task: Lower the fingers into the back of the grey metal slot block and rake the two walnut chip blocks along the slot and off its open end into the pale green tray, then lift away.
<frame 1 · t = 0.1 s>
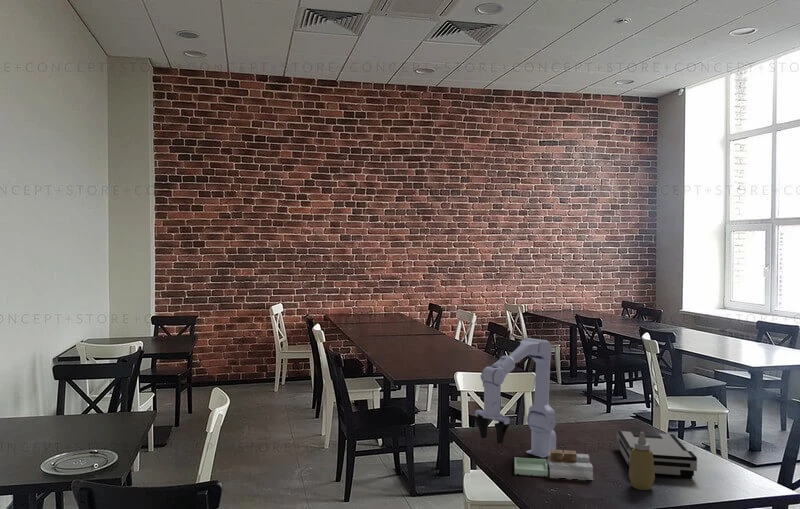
hand: (491, 440, 219), 10 cm above the table, tool pointing down, fingers open, 7 cm apart
game console: (653, 464, 227), on the table
slot block: (569, 472, 217), on the table
squeeze bottle: (641, 488, 203), on the table
front chip: (556, 462, 217), point 3 cm above the table, touching slot block
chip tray: (530, 469, 219), on the table
rear chip: (569, 463, 217), point 3 cm above the table, touching slot block
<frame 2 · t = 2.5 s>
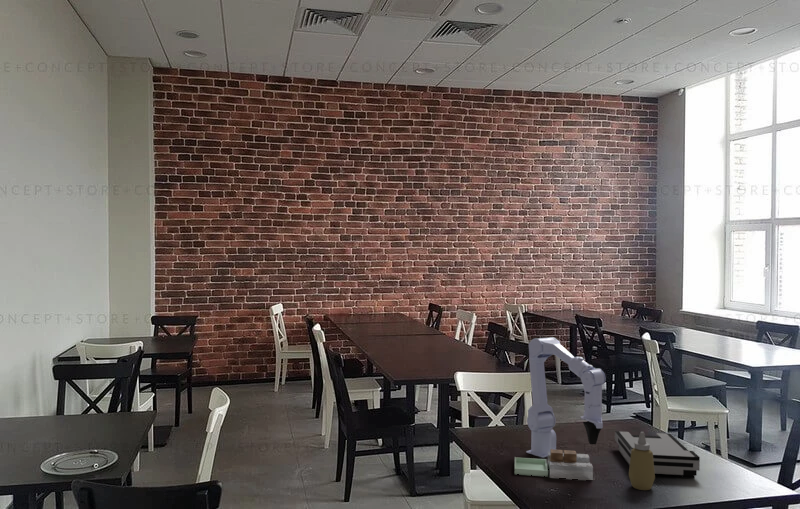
hand: (592, 443, 215), 10 cm above the table, tool pointing down, fingers closed
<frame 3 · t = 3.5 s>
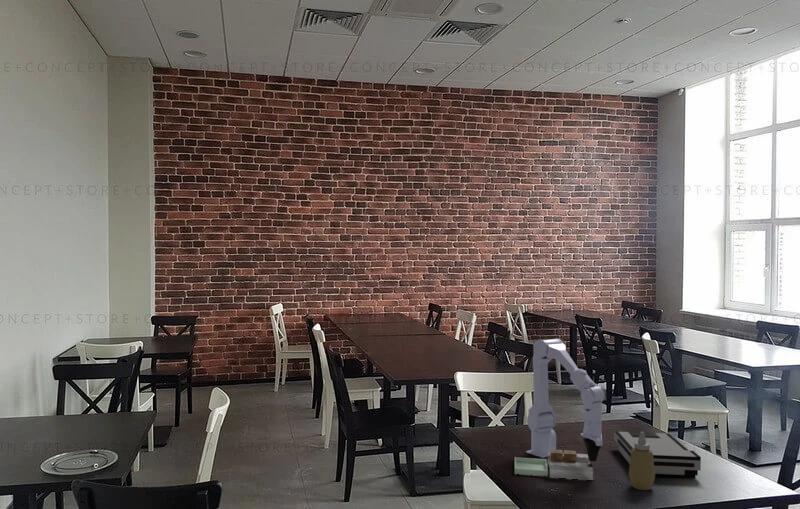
hand: (592, 460, 215), 5 cm above the table, tool pointing down, fingers closed
nothing on the table moved.
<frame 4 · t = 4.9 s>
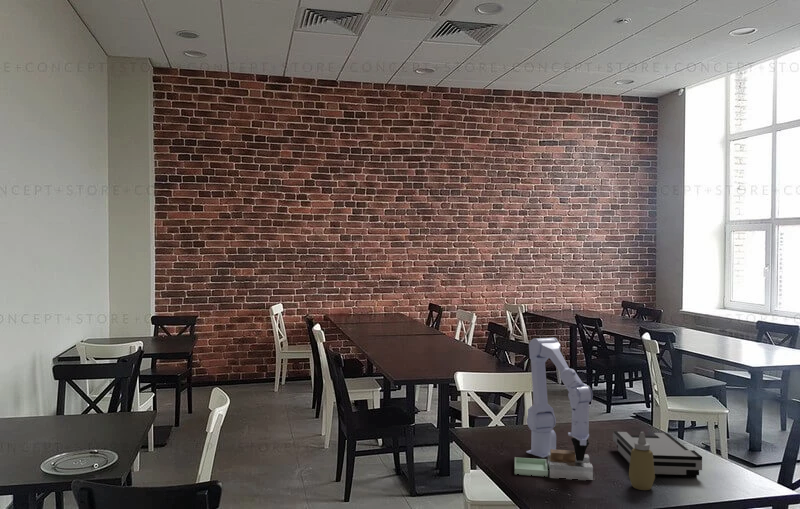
hand: (579, 460, 216), 4 cm above the table, tool pointing down, fingers closed, pressing on rear chip
rear chip: (568, 463, 217), point 3 cm above the table, touching gripper
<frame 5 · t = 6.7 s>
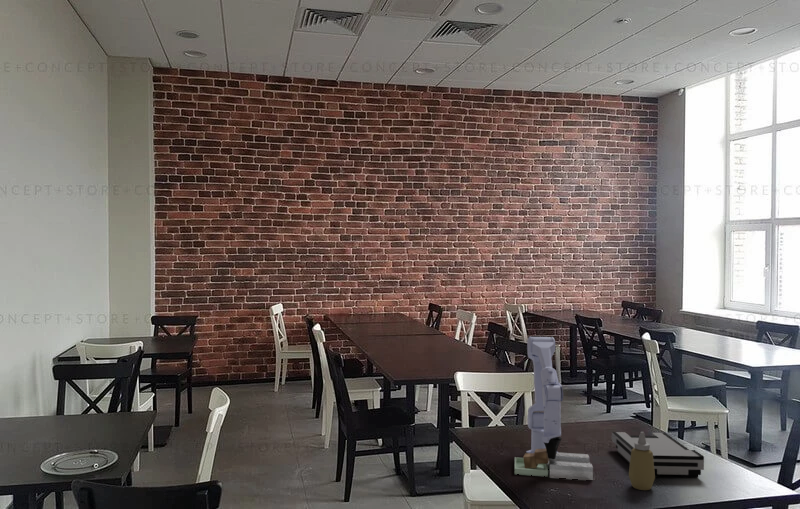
hand: (551, 458, 218), 4 cm above the table, tool pointing down, fingers closed
front chip: (536, 460, 219), point 3 cm above the table, tilted 99°, touching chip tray
rear chip: (542, 461, 219), point 3 cm above the table, tilted 10°, touching gripper, slot block
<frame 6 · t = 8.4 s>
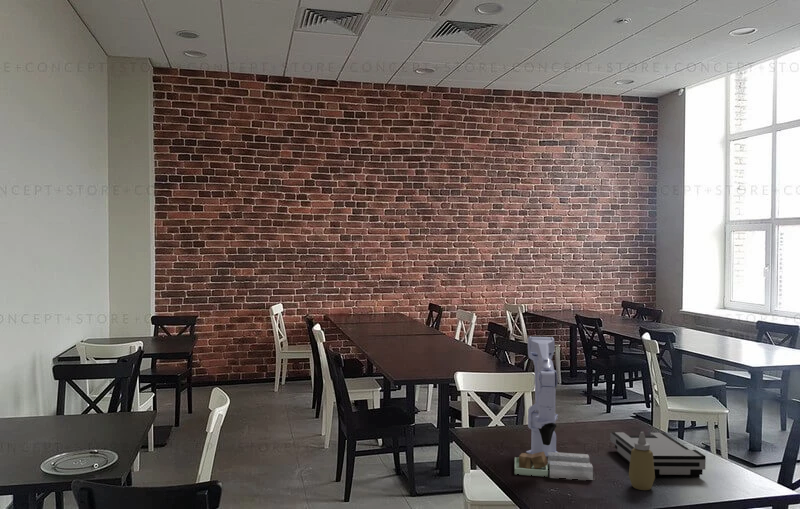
hand: (546, 444, 218), 9 cm above the table, tool pointing down, fingers closed
front chip: (531, 461, 220), point 3 cm above the table, tilted 90°, touching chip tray, rear chip
rear chip: (541, 465, 219), point 1 cm above the table, tilted 22°, touching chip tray, front chip
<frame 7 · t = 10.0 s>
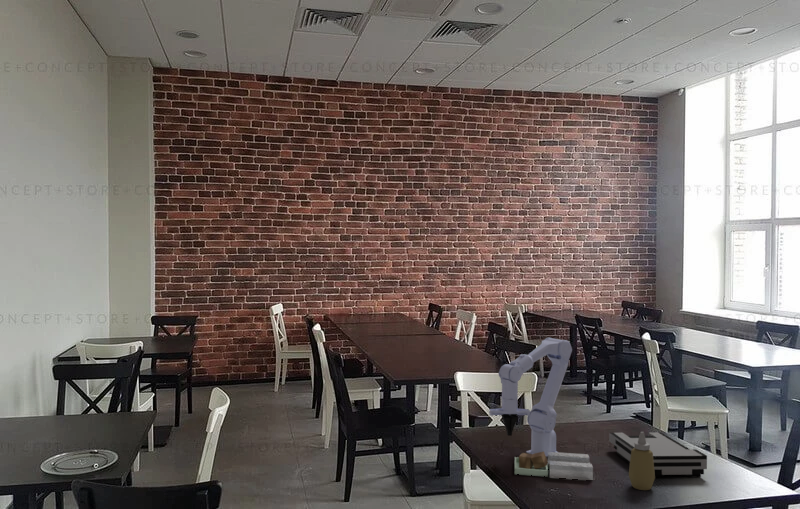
hand: (509, 434, 228), 9 cm above the table, tool pointing down, fingers closed
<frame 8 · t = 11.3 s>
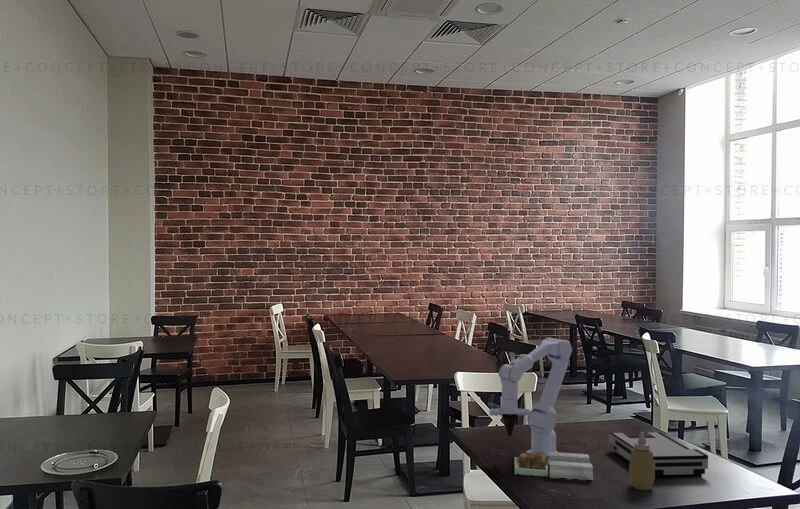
hand: (509, 434, 228), 9 cm above the table, tool pointing down, fingers closed
at the end: front chip inside the target area on the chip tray (0.8 cm from its centre), point 2.5 cm above the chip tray's base; rear chip inside the target area on the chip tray (3.7 cm from its centre), point 1.5 cm above the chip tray's base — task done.
